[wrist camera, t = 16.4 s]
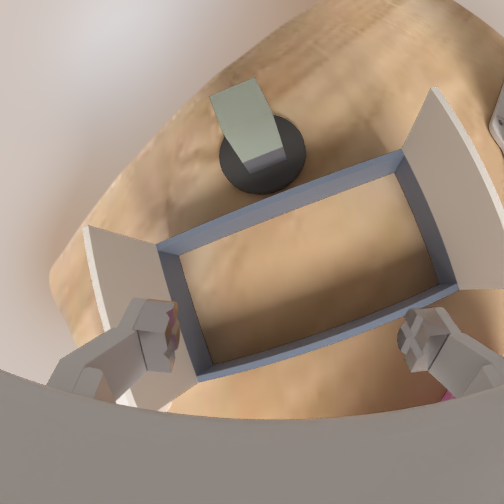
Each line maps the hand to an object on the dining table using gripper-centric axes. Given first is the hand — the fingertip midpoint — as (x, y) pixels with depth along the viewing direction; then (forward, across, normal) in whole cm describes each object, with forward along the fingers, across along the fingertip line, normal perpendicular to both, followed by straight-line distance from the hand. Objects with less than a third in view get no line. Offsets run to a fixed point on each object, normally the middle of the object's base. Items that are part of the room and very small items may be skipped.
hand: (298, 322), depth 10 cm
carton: (+17, -4, +8) cm, 19 cm away
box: (+24, +1, -2) cm, 24 cm away
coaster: (+25, 0, -1) cm, 25 cm away
